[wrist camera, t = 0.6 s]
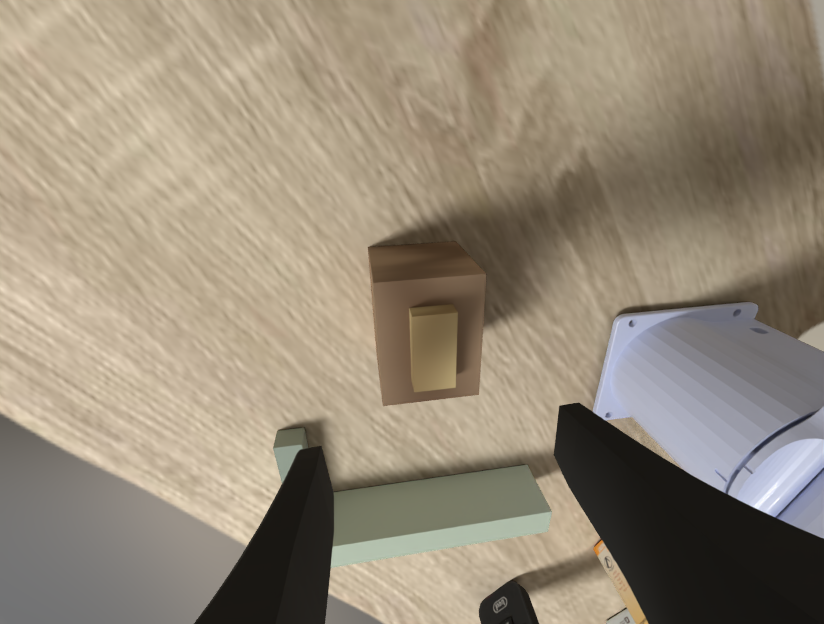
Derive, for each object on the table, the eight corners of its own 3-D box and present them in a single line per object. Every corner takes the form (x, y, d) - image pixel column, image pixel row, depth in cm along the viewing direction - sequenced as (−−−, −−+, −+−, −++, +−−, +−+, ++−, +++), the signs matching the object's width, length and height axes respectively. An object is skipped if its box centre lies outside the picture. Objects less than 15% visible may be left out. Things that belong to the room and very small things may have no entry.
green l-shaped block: (536, 399, 25) (566, 441, 21) (524, 483, 28) (547, 531, 25) (270, 431, 23) (256, 484, 19) (292, 518, 26) (283, 575, 23)
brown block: (455, 240, 19) (493, 281, 14) (452, 341, 22) (484, 405, 17) (367, 246, 19) (374, 290, 14) (376, 348, 22) (384, 417, 16)
